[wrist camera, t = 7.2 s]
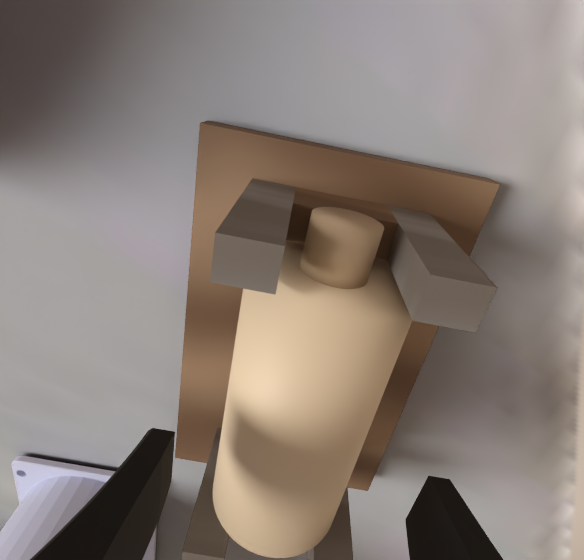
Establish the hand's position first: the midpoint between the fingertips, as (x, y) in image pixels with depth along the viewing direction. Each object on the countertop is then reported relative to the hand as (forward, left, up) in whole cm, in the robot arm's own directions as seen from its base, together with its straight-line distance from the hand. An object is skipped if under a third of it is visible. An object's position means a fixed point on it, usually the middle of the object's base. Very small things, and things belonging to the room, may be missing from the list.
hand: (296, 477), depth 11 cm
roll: (0, 0, -5) cm, 5 cm away
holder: (0, 0, -7) cm, 7 cm away
